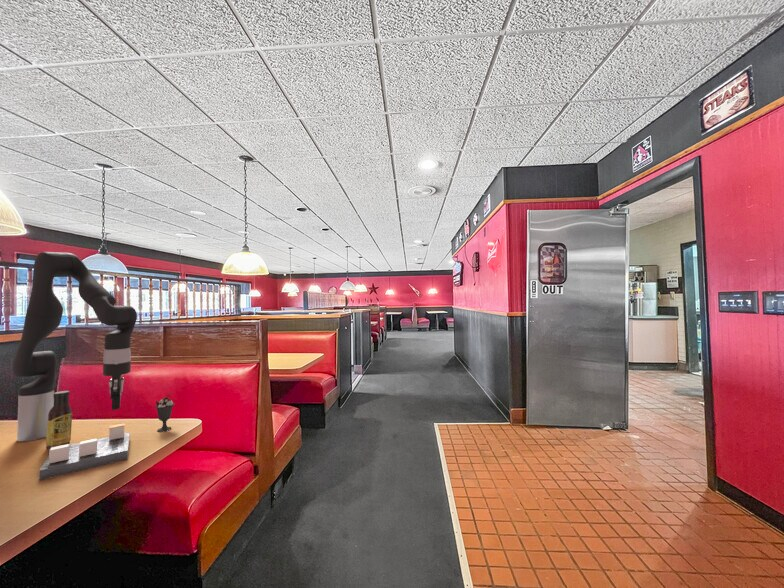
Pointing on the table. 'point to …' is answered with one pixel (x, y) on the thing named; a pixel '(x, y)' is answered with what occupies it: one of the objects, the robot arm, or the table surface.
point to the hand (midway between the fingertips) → (115, 408)
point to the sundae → (164, 412)
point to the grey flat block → (88, 457)
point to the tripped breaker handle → (116, 431)
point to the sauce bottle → (59, 421)
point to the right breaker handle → (59, 453)
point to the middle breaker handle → (87, 447)
